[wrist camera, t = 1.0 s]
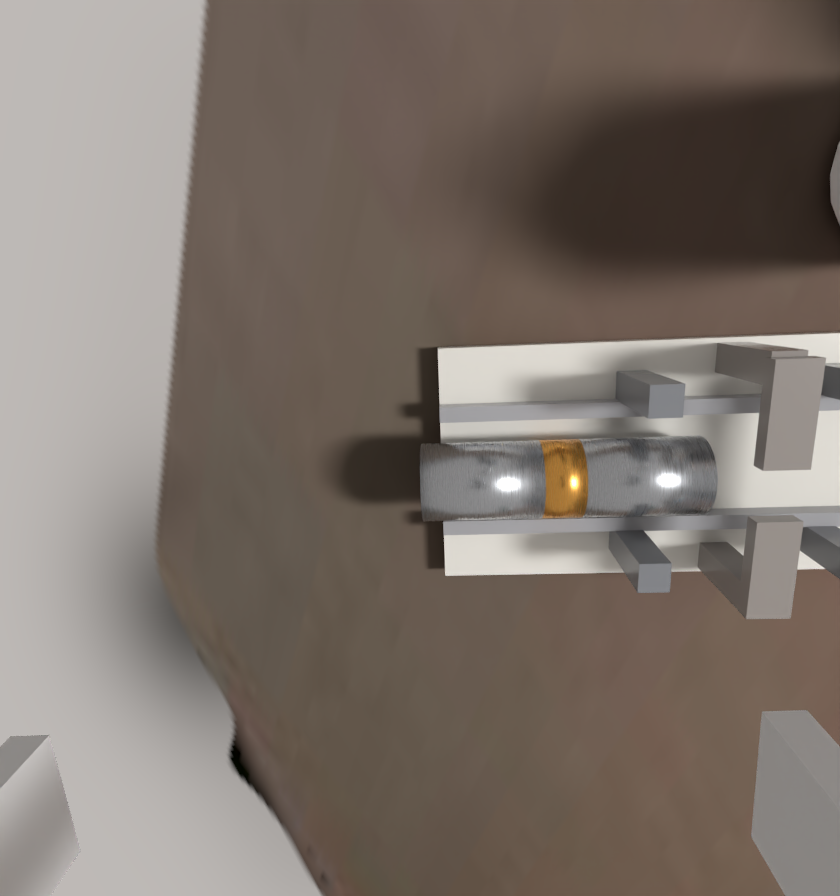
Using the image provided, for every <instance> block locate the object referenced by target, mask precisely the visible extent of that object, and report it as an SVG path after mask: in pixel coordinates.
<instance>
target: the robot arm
mask: <svg viewBox="0 0 840 896" xmlns="http://www.w3.org/2000/svg"><path fill="white" fill-rule="evenodd" d="M751 837H752V839H753V841H754V842H755V844H756V846H757V848H758V849H759V851H760V853H761V855H762V856H763V858H764V860H765V861H766V863H767V865H768V867H769V868H770V870H771V872H772V873H773V875H774V877H775V879H776V880H777V882H778V884H779V886H780V887H781V889H782V891H783V892H784V894H785V896H840V747H839V745H838V744H837V743H836V742H835V741H834V740H833V739H832V738H831V737H830V735H829V734H828V733H827V732H826V731H825V730H824V729H823V728H822V727H821V725H820V724H819V723H818V722H817V721H816V720H815V719H814V718H813V716H812V715H811V714H810V713H809V712H808V711H807V710H797V711H767V712H762V718H761V729H760V741H759V752H758V764H757V776H756V787H755V799H754V810H753V822H752V834H751ZM79 853H80V847H79V843H78V839H77V836H76V832H75V828H74V825H73V821H72V817H71V814H70V810H69V806H68V802H67V799H66V795H65V791H64V788H63V784H62V780H61V777H60V773H59V770H58V766H57V762H56V758H55V754H54V751H53V747H52V744H51V740H50V736H49V735H41V736H40V735H39V736H11V737H10V738H9V739H8V740H7V741H6V742H5V743H4V744H3V745H2V746H1V747H0V896H51V895H52V893H53V892H54V890H55V889H56V887H57V886H58V884H59V883H60V881H61V880H62V878H63V877H64V875H65V874H66V872H67V870H68V869H69V868H70V866H71V865H72V863H73V862H74V860H75V859H76V857H77V856H78V854H79Z"/></svg>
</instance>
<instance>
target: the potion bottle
mask: <svg viewBox="0 0 840 896" xmlns="http://www.w3.org/2000/svg"><path fill="white" fill-rule="evenodd" d="M830 198H831V204H832V207H833V210H834V212H835V215H836V218H837V220H838V223H839V226H840V142H839V144H838V147H837V150H836V154H835V158H834V161H833V165H832V169H831V172H830Z"/></svg>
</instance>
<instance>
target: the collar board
mask: <svg viewBox="0 0 840 896" xmlns="http://www.w3.org/2000/svg"><path fill="white" fill-rule="evenodd" d="M438 374H439V403H440V405H439V412H440V433H441V443H464V442H497V441H531V440H564V439H597V438H630V437H664V436H697V435H699V436H702V437H704V438H705V439H706V440H707V441H708V443H709V444H710V446H711V448H712V450H713V453H714V456H715V460H716V465H717V473H718V486H717V494H716V498H715V502H714V504H713V506H712V508H711V510H710V511H709V512H708V513H707V514H704V515H672V516H628V517H585V518H541V519H498V520H454V521H443V531H444V553H445V576H454V575H510V574H565V573H621V572H624V573H625V574H626V576H627V577H628V579H629V580H630V582H631V583H632V585H633V586H634V588H635V589H636V591H637V592H638V593H654V592H670V581H671V572H676V571H702V572H703V573H704V575H705V576H706V577H707V578H708V579H709V580H710V581H711V582H712V583H713V584H714V585H715V586H716V587H717V588H718V589H719V590H720V591H721V592H722V594H723V595H724V596H725V597H726V598H727V599H728V600H729V601H730V602H731V603H732V604H733V605H734V606H735V607H736V608H737V609H738V611H739V612H740V613H741V614H742V615H743V616H744V617H745V618H746V619H789V618H791V611H792V604H793V596H794V589H795V582H796V574H797V569H826V570H828V571H829V572H831V573H832V574H834V575H835V576H836V577H838V578H839V579H840V332H815V333H789V334H763V335H737V336H711V337H686V338H660V339H634V340H608V341H582V342H557V343H531V344H505V345H479V346H453V347H438Z"/></svg>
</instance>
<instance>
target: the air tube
mask: <svg viewBox="0 0 840 896" xmlns="http://www.w3.org/2000/svg"><path fill="white" fill-rule="evenodd" d="M717 486H718V473H717V465H716V460H715V456H714V453H713V450H712V448H711V446H710V444H709V443H708V441H707V440H706V439H705V438H704V437H702V436H699V435H697V436H664V437H630V438H597V439H564V440H531V441H497V442H464V443H431V444H421V446H420V492H421V510H422V519H423V521H454V520H498V519H541V518H585V517H628V516H672V515H704V514H707V513H708V512H709V511H710V510H711V508H712V506H713V504H714V502H715V498H716V494H717Z"/></svg>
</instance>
